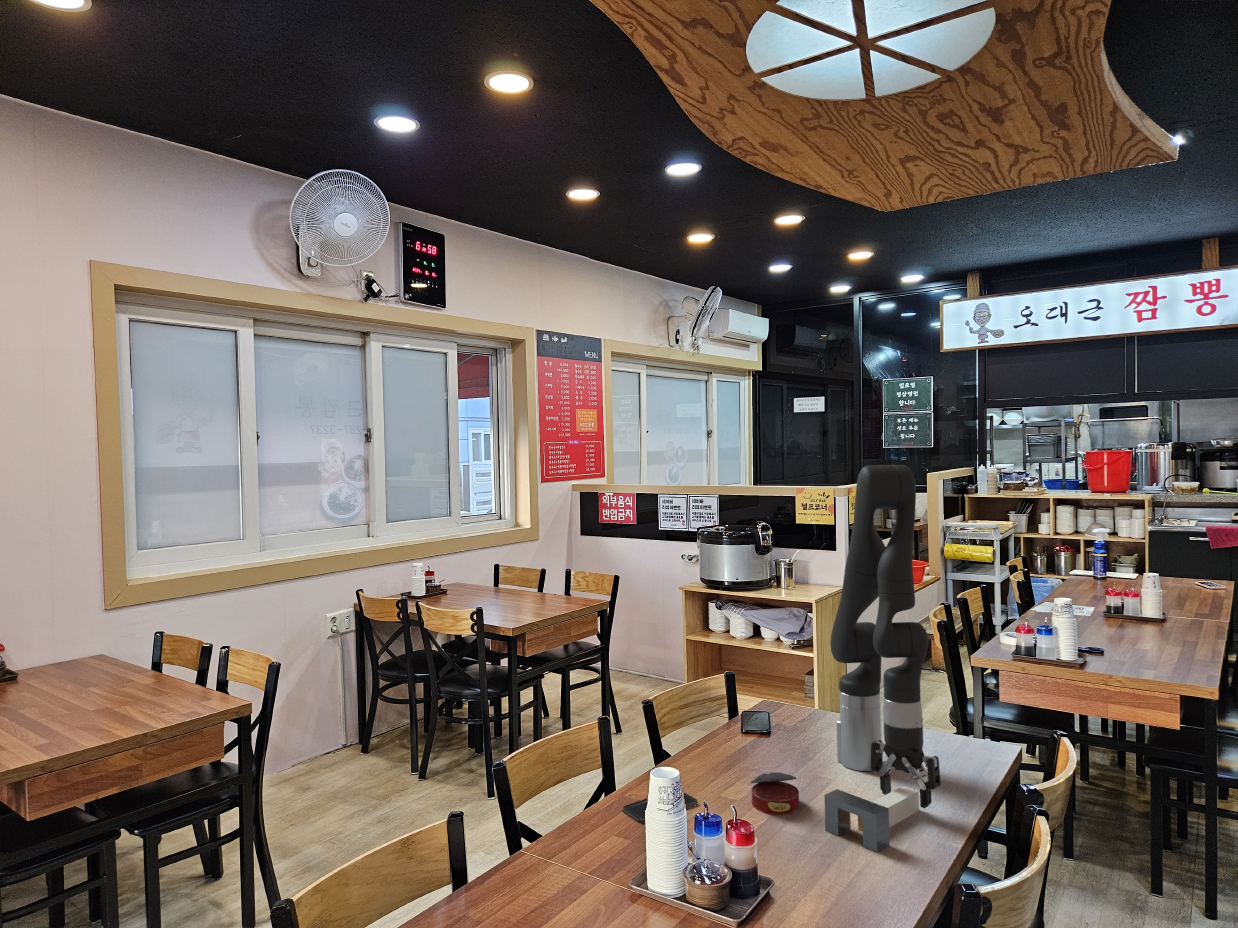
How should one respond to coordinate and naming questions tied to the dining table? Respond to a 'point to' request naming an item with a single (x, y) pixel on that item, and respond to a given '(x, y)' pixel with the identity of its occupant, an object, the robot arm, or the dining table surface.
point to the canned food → (775, 794)
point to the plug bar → (897, 805)
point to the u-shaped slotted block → (871, 813)
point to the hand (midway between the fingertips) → (905, 799)
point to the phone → (638, 808)
